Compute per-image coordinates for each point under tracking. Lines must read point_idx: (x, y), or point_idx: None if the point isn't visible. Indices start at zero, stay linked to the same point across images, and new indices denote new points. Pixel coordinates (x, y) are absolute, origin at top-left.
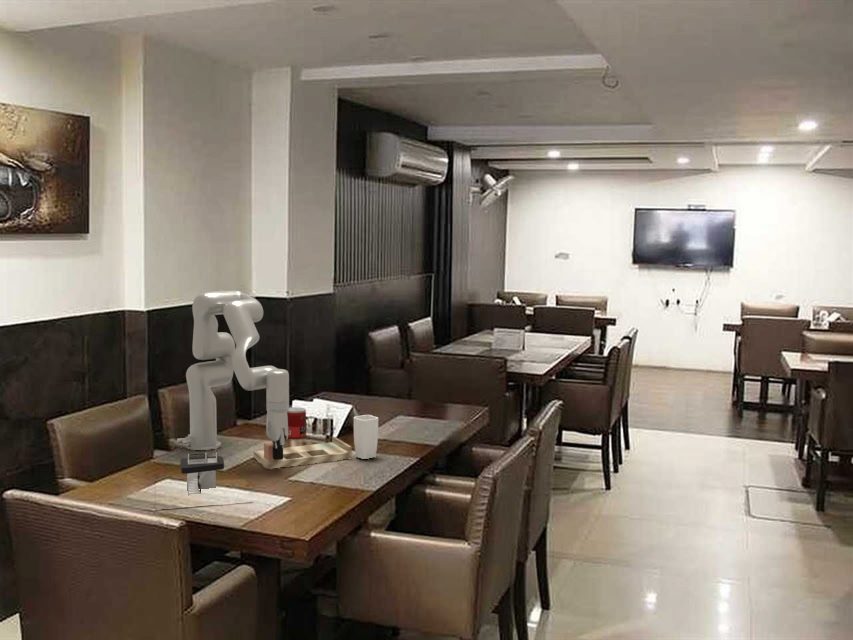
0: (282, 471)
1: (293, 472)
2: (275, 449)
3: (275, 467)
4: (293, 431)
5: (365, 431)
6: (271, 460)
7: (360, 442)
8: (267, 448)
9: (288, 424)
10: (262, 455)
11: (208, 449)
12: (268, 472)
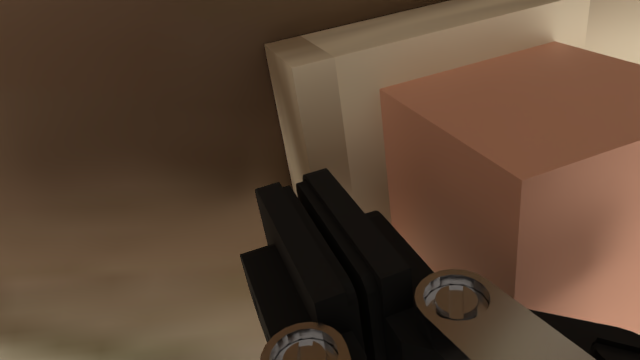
0: (156, 215)
1: (95, 323)
2: (308, 310)
3: (286, 147)
4: None
5: None
6: (378, 129)
7: None
8: (532, 140)
9: None
10: (627, 29)
11: None
12: (135, 45)
